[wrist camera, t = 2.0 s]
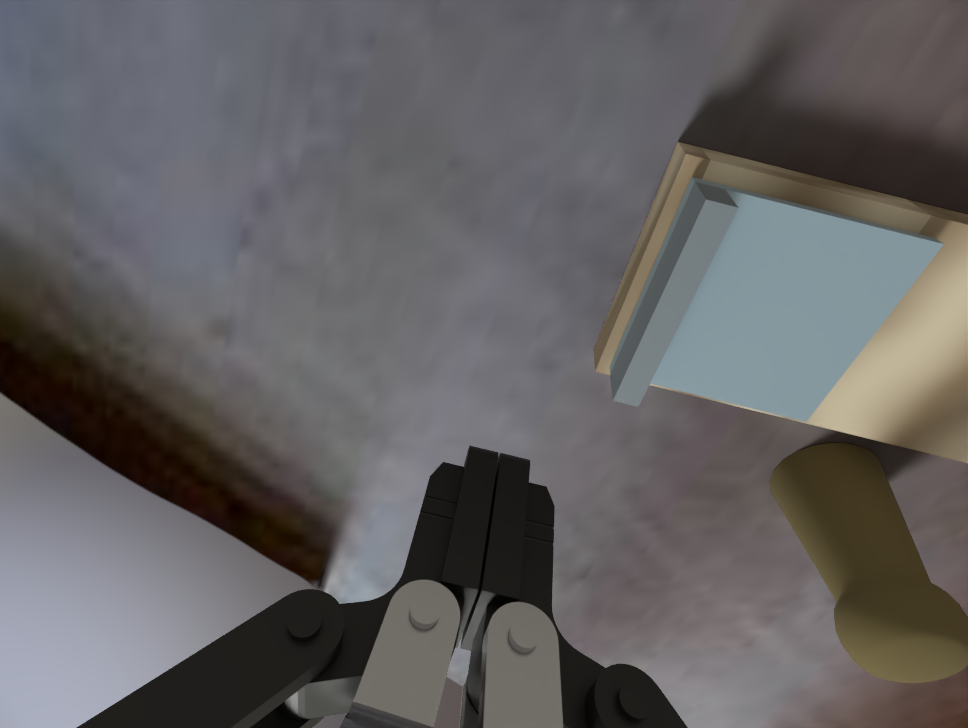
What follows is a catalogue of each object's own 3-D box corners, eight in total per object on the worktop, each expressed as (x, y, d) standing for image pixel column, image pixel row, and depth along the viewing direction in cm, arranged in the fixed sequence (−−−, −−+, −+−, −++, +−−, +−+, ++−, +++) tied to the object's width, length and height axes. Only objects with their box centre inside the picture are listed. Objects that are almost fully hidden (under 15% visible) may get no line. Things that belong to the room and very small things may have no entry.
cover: (935, 238, 21) (977, 267, 19) (802, 413, 27) (822, 452, 25) (691, 176, 21) (706, 199, 19) (609, 366, 27) (613, 400, 25)
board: (1220, 278, 23) (1270, 300, 21) (1017, 454, 29) (1043, 481, 28) (677, 141, 22) (685, 153, 21) (593, 349, 29) (595, 371, 27)
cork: (797, 434, 31) (890, 619, 22) (904, 453, 30) (1042, 648, 21) (753, 502, 34) (817, 685, 25) (848, 519, 34) (947, 710, 25)
